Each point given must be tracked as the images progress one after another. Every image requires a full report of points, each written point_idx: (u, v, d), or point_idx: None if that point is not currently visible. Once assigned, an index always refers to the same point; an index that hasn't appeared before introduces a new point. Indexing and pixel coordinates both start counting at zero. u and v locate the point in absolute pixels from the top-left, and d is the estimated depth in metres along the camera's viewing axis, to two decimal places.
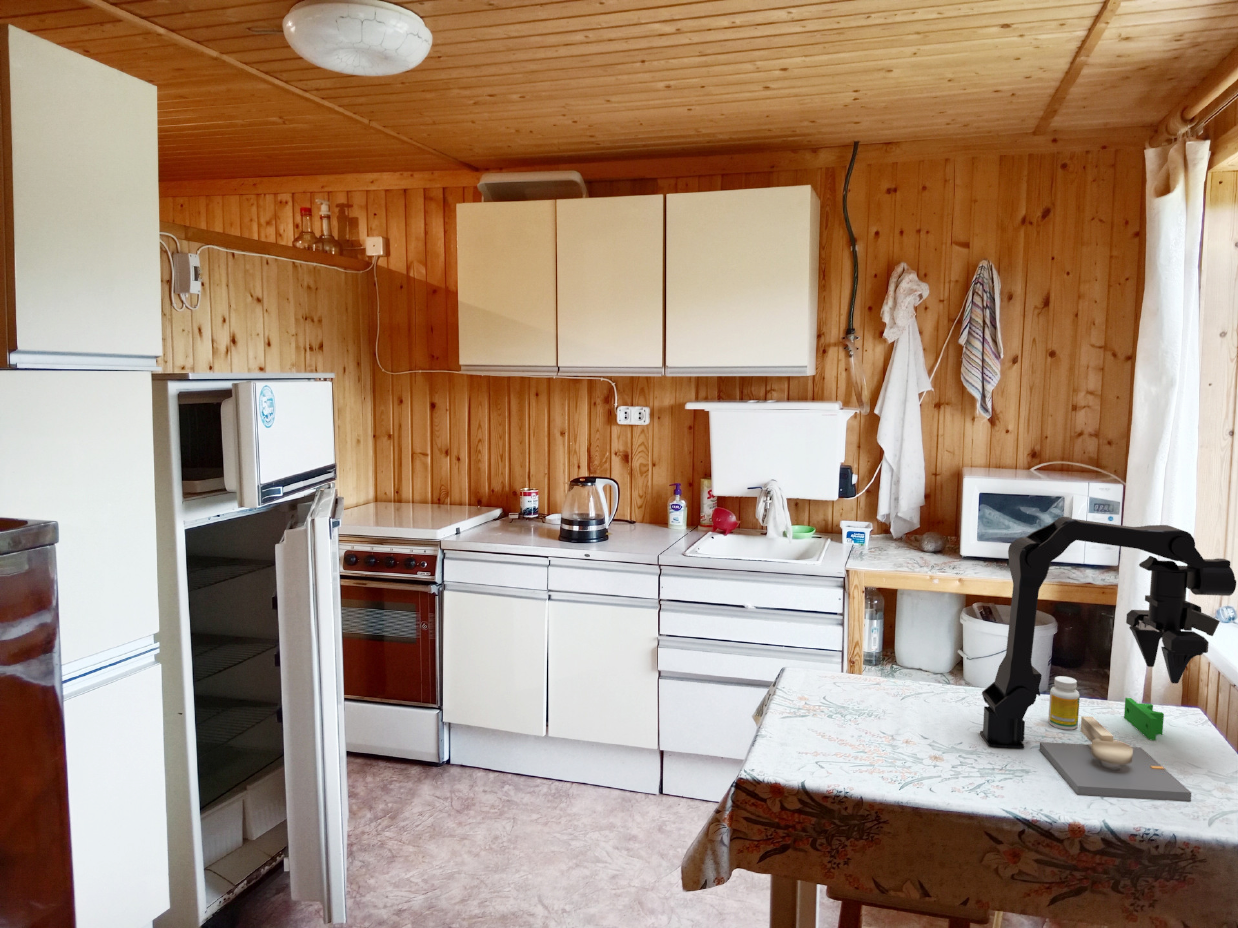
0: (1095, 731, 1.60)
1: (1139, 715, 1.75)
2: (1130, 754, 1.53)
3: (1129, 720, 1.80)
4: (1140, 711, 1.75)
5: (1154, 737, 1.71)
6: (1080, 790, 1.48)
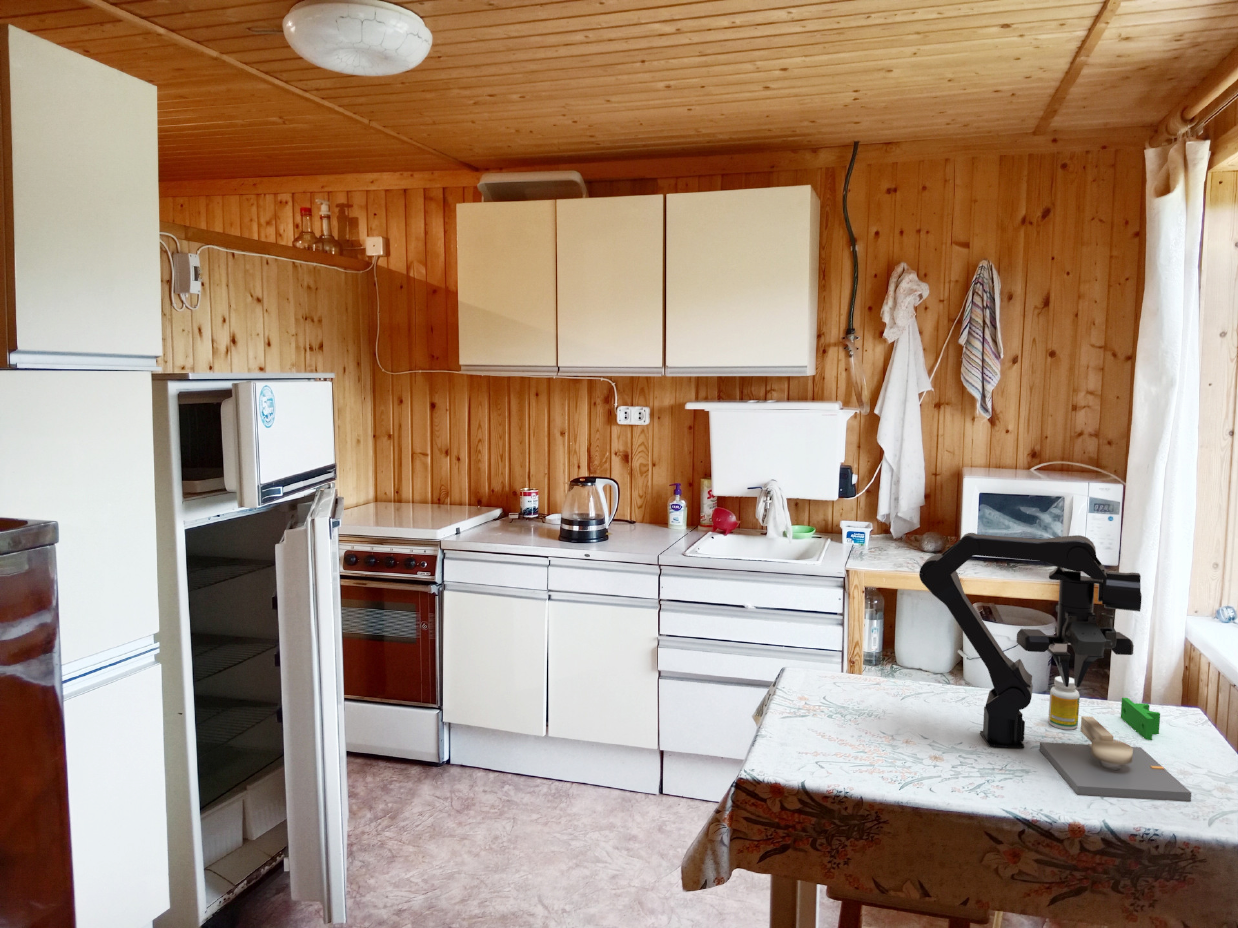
0: (1095, 731, 1.60)
1: (1136, 715, 1.75)
2: (1130, 754, 1.53)
3: (1125, 720, 1.80)
4: (1136, 711, 1.75)
5: (1150, 737, 1.71)
6: (1080, 790, 1.48)
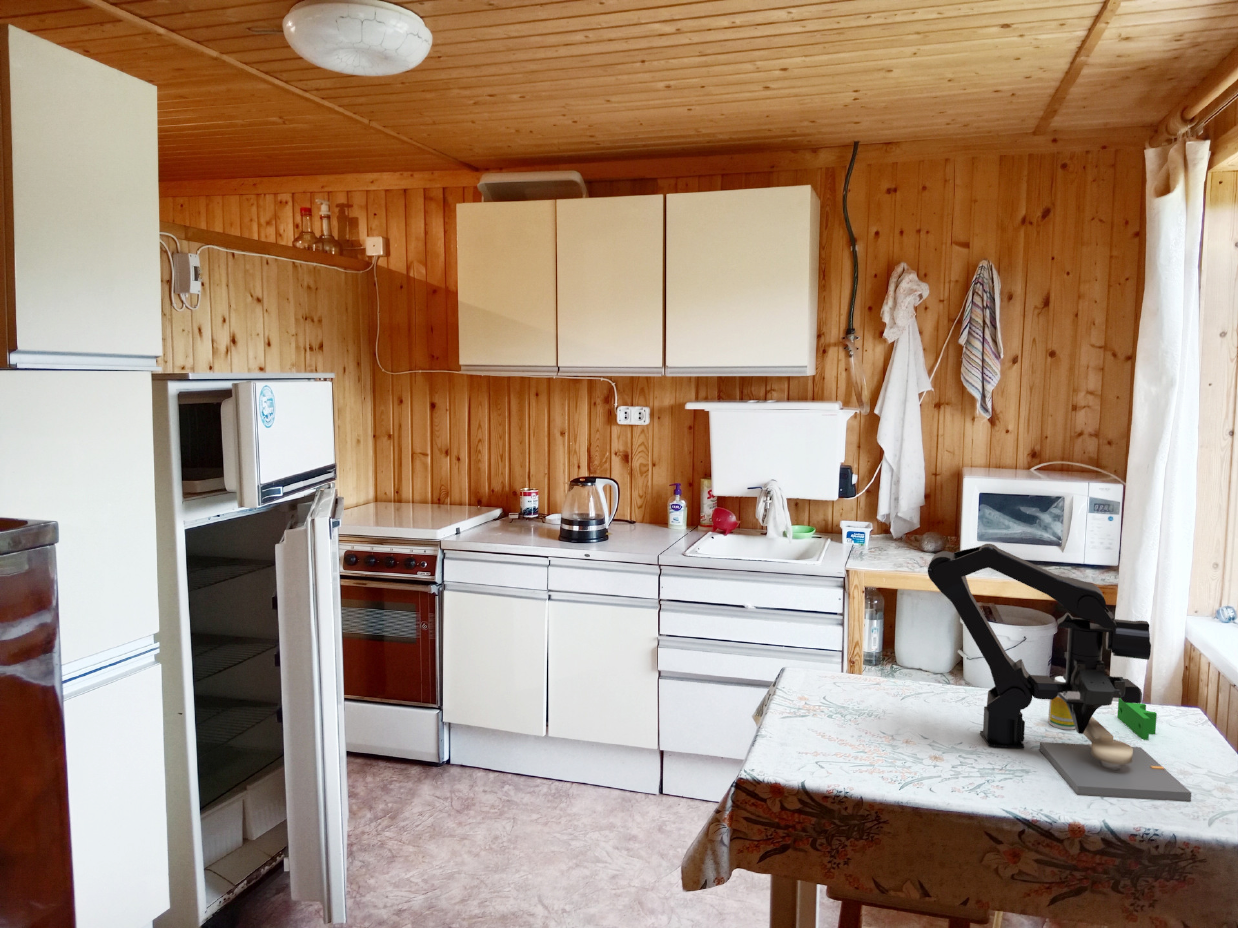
0: (1095, 731, 1.60)
1: (1132, 715, 1.75)
2: (1130, 754, 1.53)
3: (1122, 720, 1.80)
4: (1133, 711, 1.75)
5: (1147, 737, 1.71)
6: (1080, 790, 1.48)
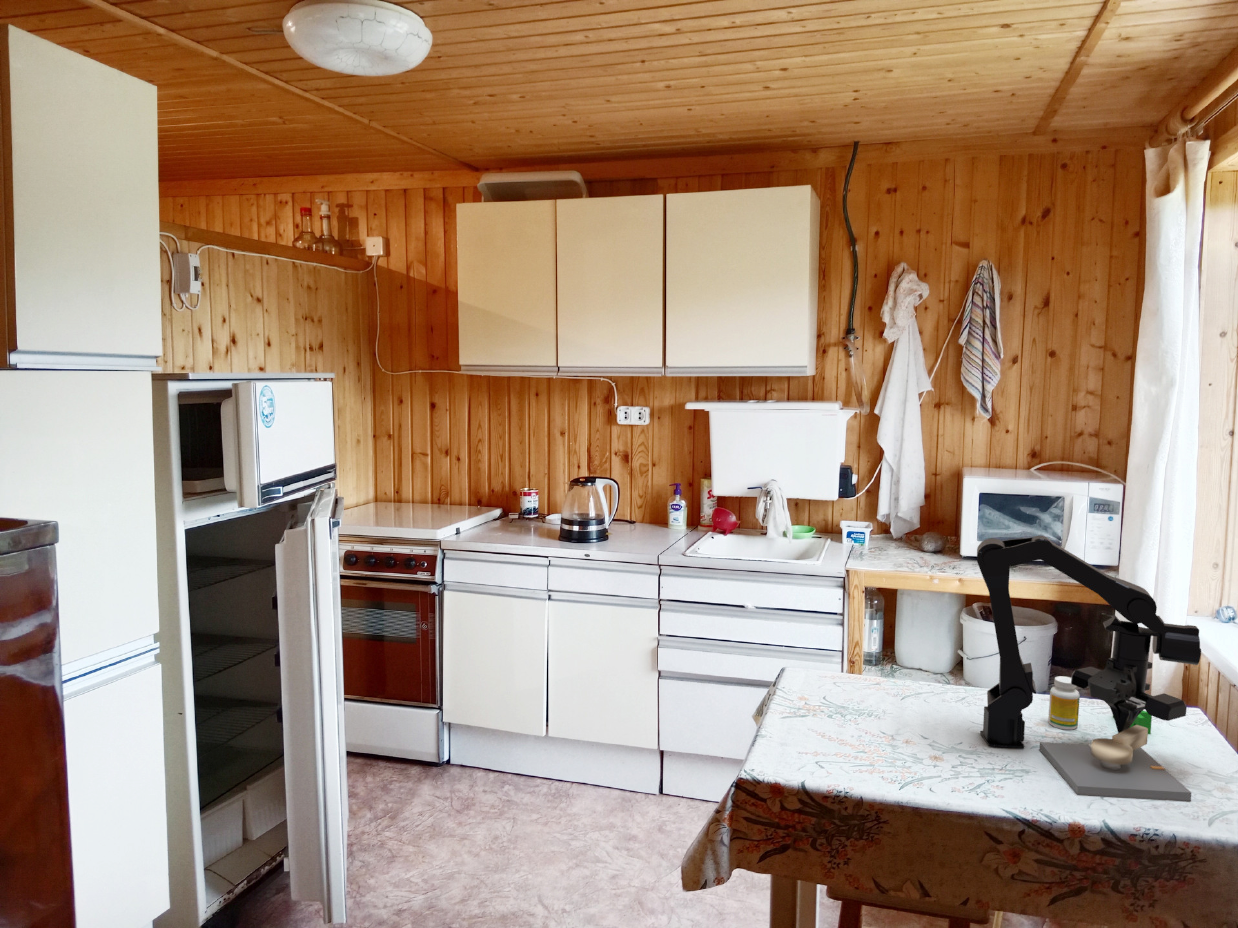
0: None
1: None
2: (1117, 755, 1.53)
3: None
4: None
5: None
6: (1080, 790, 1.48)
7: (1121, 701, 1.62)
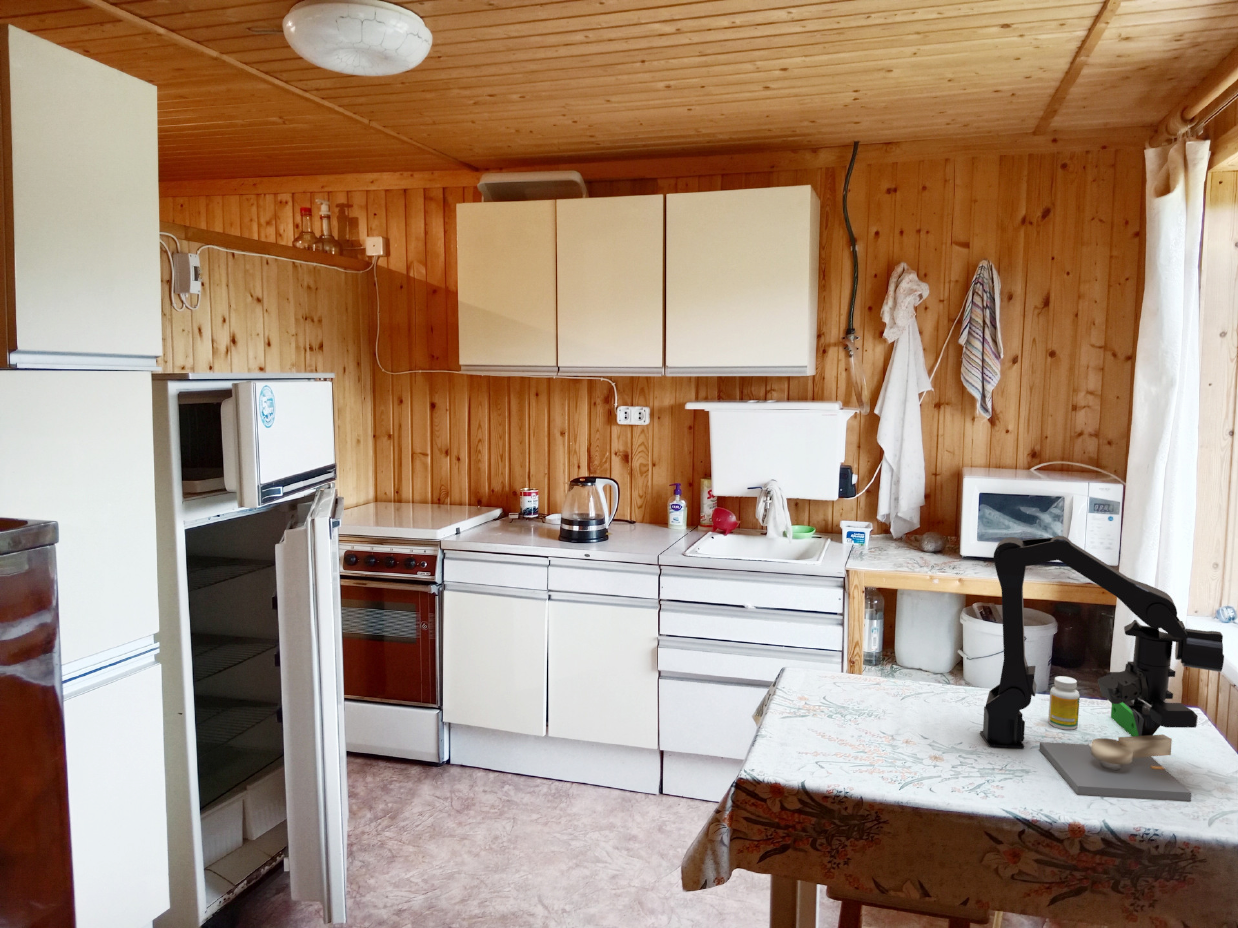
0: None
1: (1126, 714, 1.75)
2: (1107, 753, 1.53)
3: (1116, 719, 1.80)
4: (1126, 710, 1.75)
5: None
6: (1080, 790, 1.48)
7: None
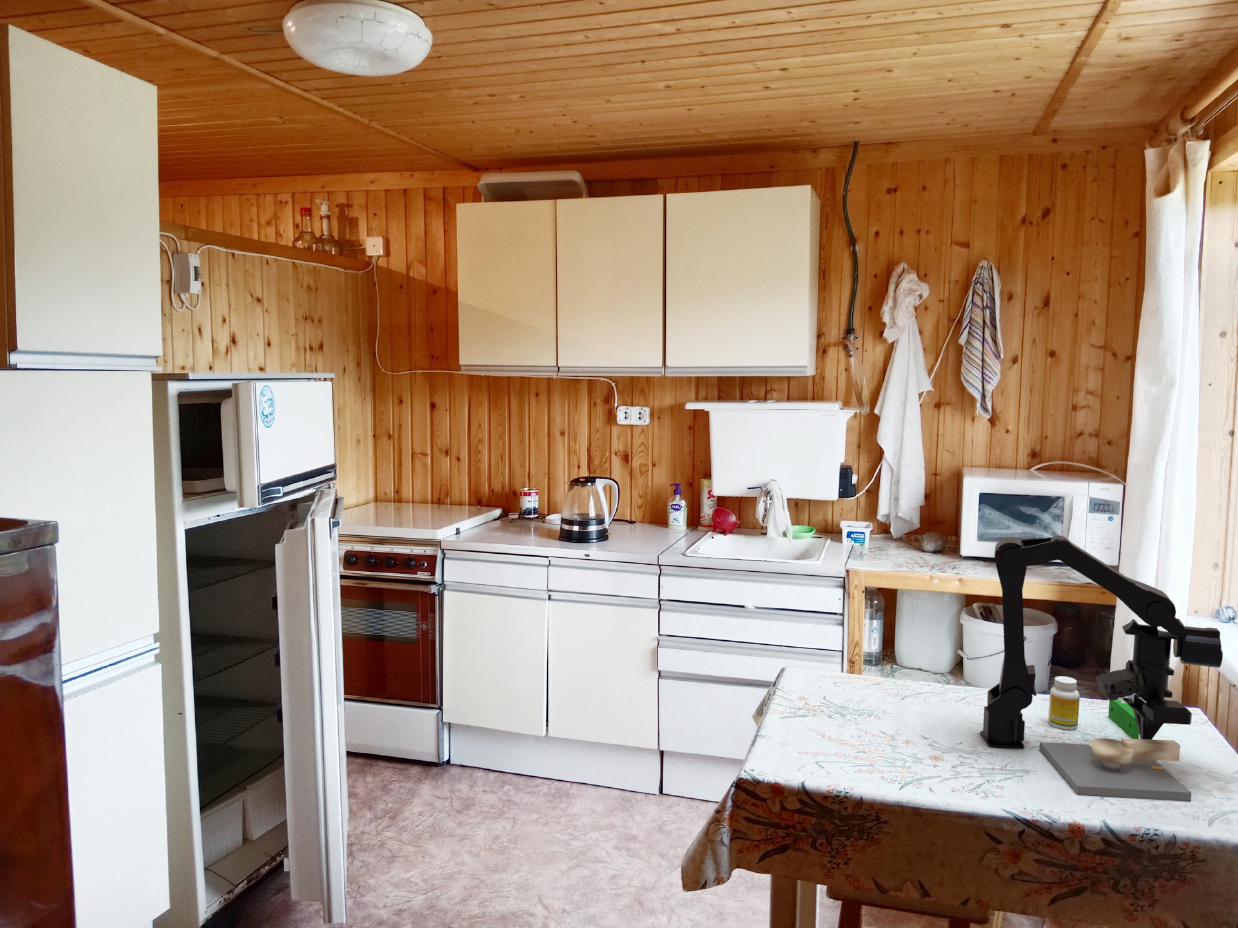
0: None
1: (1123, 714, 1.76)
2: (1103, 752, 1.54)
3: (1113, 719, 1.80)
4: (1124, 710, 1.75)
5: (1137, 736, 1.71)
6: (1080, 790, 1.48)
7: None
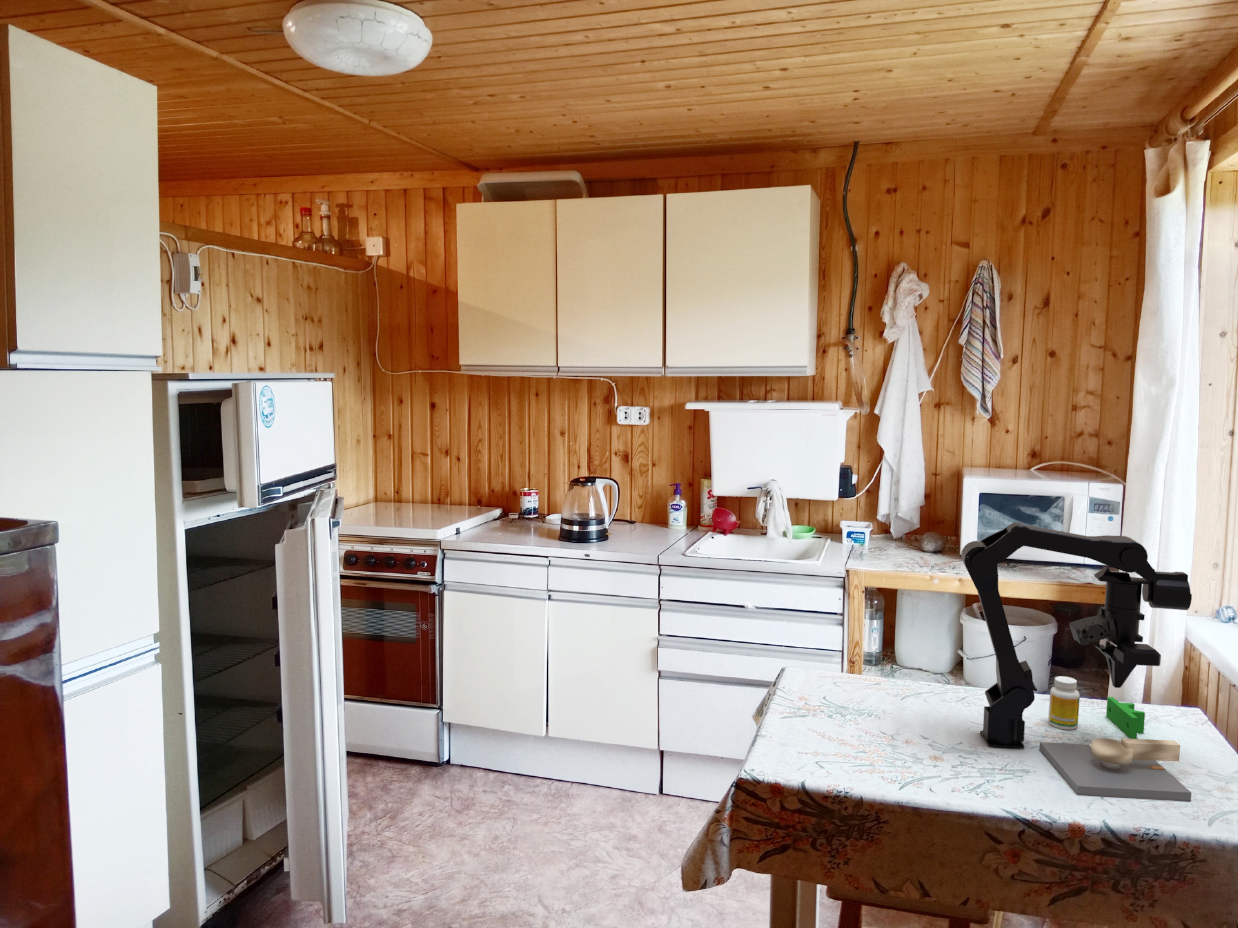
0: None
1: (1121, 714, 1.76)
2: (1103, 752, 1.54)
3: (1111, 719, 1.80)
4: (1121, 710, 1.75)
5: (1135, 736, 1.71)
6: (1080, 790, 1.48)
7: None
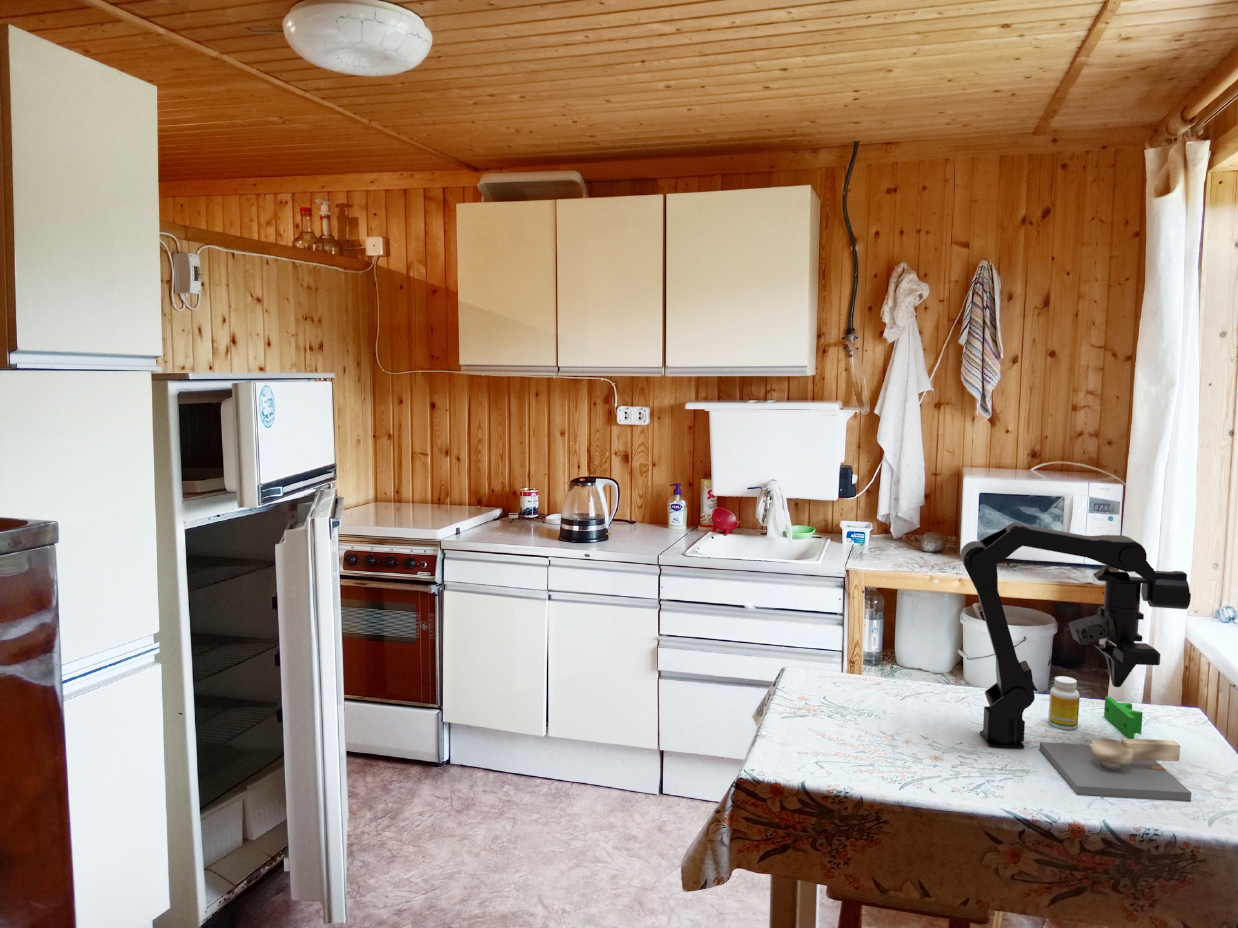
0: None
1: (1118, 714, 1.76)
2: (1103, 752, 1.54)
3: (1108, 719, 1.80)
4: (1119, 710, 1.75)
5: (1132, 736, 1.71)
6: (1080, 790, 1.48)
7: None
